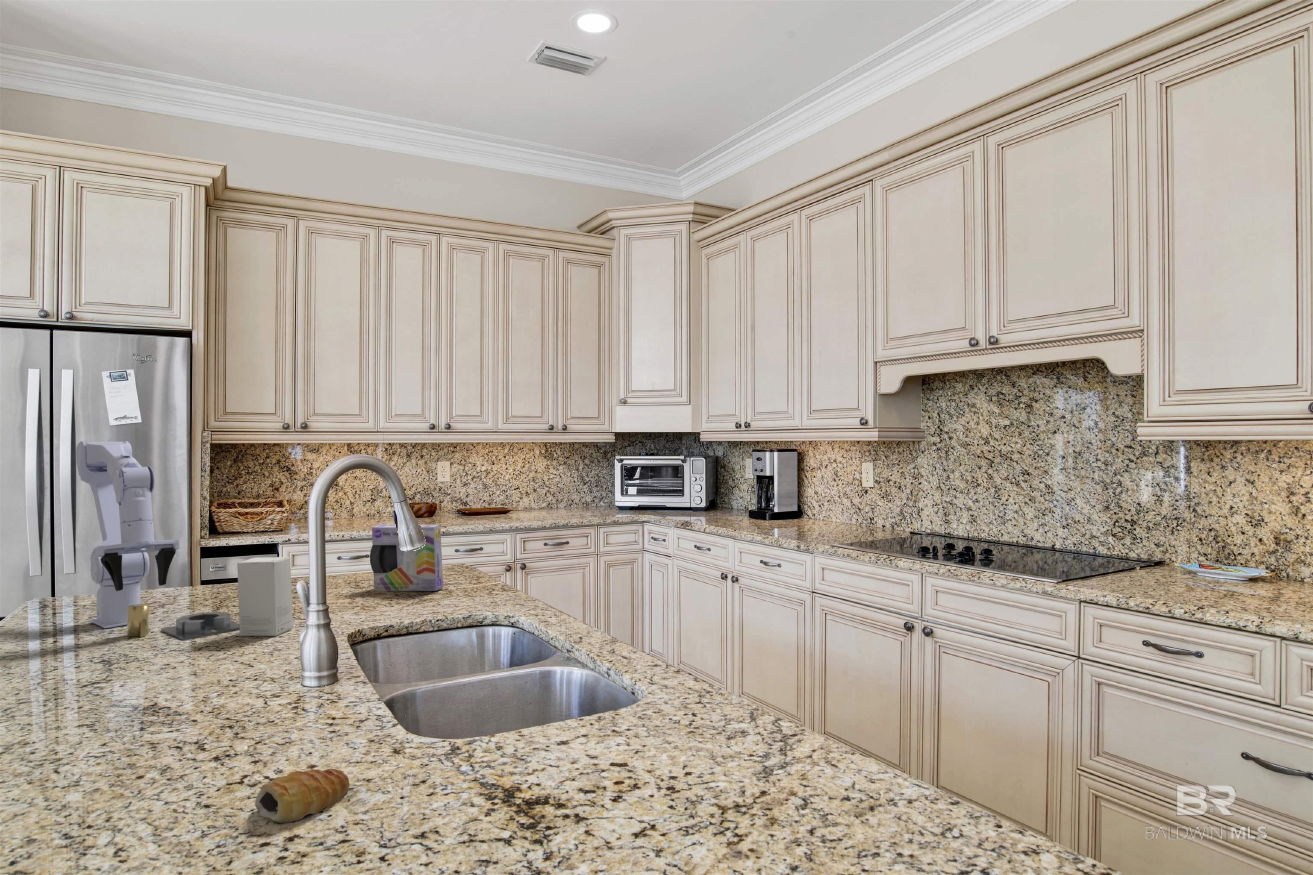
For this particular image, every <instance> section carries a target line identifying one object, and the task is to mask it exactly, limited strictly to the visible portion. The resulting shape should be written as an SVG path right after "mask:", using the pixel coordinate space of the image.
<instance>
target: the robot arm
mask: <svg viewBox="0 0 1313 875" xmlns="http://www.w3.org/2000/svg"><path fill="white" fill-rule="evenodd" d="M75 449H76V450H75V459H76V460H75V461H76V466H77V473H78V476H79V478H80V480H81V482H84V483H86V484H88V485H89V487H90V490H91V492H92V496H93V498H94V504H95V505H94V506H95V509H96V514H97V520H98V524H99V529H100V533H101V539H102V542H101V543H99V544H98V545H96V546H95V547H94V548H93V549H92V552H91V553H90V559H89V560H90V575H91V579H92V581H93V582H94V583H95V584H97V585H99V588H98V590H97V592H96V618H95V619H91V623H93V624H95V625H97V626H99V627H101V628H103V629H109V628H116V627H121V626H122V627H123V626H128V606H130V605H136V604H141V582H143V581H144V580H143V579H145V578H146V577H147V575H149V574H150V566H151V565H150V556H149V554H148V553H152V552H157V554H155V556H154V557H155V561H156V568H157V582H158V586H159V587H160V586H165V585H167V581H168V580H167V579H168V574H169V570H170V567H171V564H172V561H173V559H174V557H175V555H176V553H177V550H180V548H181V547H180V539H171V540H165V539H164V540H155V530H154V517H153V503H152V493H153V491H154V488H155V474H154V470H153V468H152V466H150V465H147V466H142V465H141V464H140V463H139V462H138V460H137V459H136V458H134V457H133V448H132V445H131V443H130V442H129V441H127V440H122V441H85V440H80V441H79V442H78V443H77V445H76V448H75Z"/></svg>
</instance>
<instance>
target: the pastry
mask: <svg viewBox="0 0 1313 875" xmlns="http://www.w3.org/2000/svg"><path fill="white" fill-rule="evenodd" d="M349 789H350V781H349V776H348V775H346V774H345V773H344V772H343V771H342V770H340V769H337V768H327V769H324V770H321V769H319V768H317V769H309V770H305V771H301V770H296V771H291V772H289V773H288V774H287V775H283V776H277V777H275V778H273V779H272V781H271V782H267V783H264V784H262V786H261V789H260V790H259V792H258V793H257V797H256V798H255V801H254V802H255V803H254V806H255V808H256V809H257V812H258V813H259V816H261V817H263V818H265V819H270V820H271V821H273V822H276V823H293V822H294V823H295V821H296V822H297V821H299V820H303V818H304V817H305V816H308V815H309V814H311V815H315V814H317V813H319V812H321V811H322V810H323V809H325V808H326V809H327V808H329V807H330V806H331V805H333V804H334V803H336V802H338V801H339V800H341V799H342V798H343V797H344V796H345V795H346V794H347V793H348V791H349Z"/></svg>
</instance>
